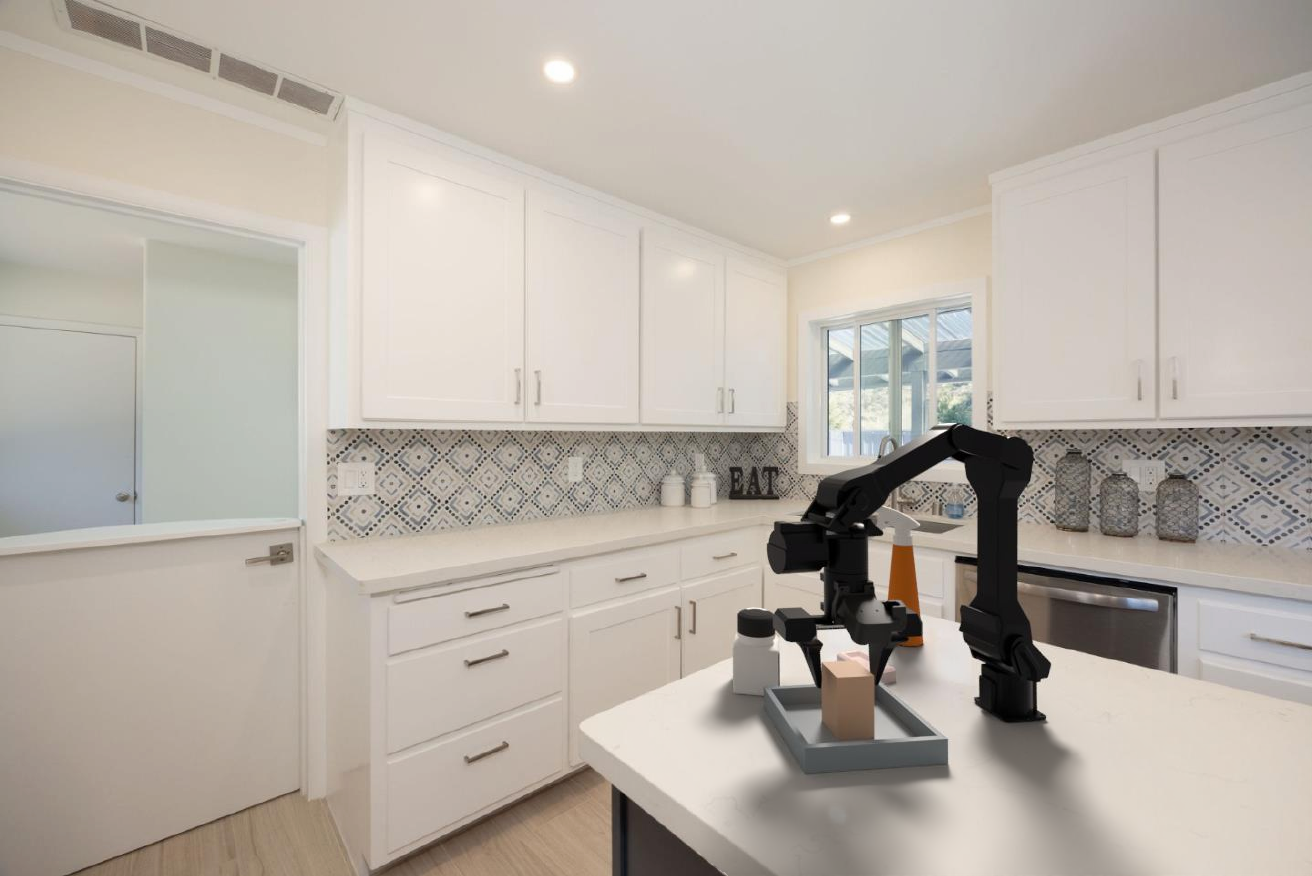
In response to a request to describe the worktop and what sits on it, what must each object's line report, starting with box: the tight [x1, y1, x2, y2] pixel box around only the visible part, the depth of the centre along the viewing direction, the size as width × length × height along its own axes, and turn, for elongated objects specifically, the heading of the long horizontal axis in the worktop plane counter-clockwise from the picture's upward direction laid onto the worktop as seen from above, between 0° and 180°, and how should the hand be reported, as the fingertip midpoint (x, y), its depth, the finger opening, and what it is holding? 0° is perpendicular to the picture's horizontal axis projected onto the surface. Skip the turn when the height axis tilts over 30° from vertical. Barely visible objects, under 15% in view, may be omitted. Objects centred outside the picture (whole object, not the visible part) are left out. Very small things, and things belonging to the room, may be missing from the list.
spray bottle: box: [868, 505, 924, 647], centre depth 107 cm, size 7×11×26 cm, turn 55°
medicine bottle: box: [732, 607, 781, 697], centre depth 86 cm, size 7×7×12 cm
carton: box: [821, 660, 875, 740], centre depth 72 cm, size 5×5×8 cm
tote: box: [763, 681, 949, 775], centre depth 72 cm, size 18×16×3 cm
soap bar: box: [836, 649, 897, 684], centre depth 91 cm, size 5×9×2 cm, turn 17°
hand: (846, 685), depth 72 cm, fingers open, 8 cm apart
